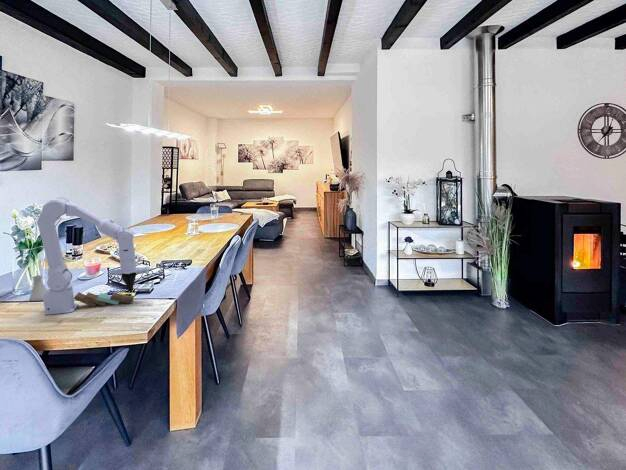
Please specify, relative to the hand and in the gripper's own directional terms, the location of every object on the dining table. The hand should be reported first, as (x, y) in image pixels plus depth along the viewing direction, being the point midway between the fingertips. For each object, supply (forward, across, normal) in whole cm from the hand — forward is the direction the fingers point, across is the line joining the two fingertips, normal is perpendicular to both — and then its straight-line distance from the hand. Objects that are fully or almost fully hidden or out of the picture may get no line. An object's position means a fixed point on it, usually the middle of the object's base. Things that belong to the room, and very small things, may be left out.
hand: (130, 290), depth 154 cm
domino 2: (+4, -10, 0) cm, 10 cm away
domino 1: (+4, -13, 0) cm, 14 cm away
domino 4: (+4, 0, 0) cm, 4 cm away
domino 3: (+4, -5, 0) cm, 6 cm away
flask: (+5, -38, +16) cm, 42 cm away
